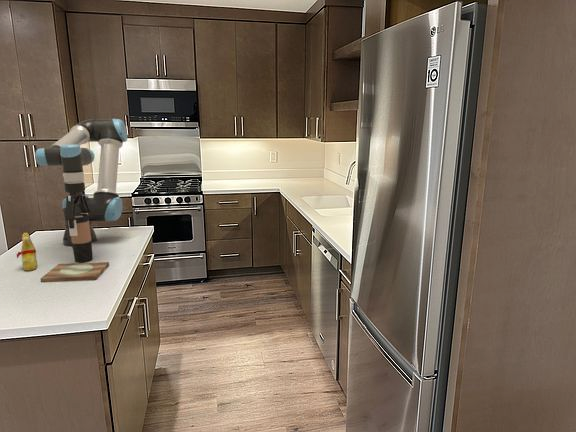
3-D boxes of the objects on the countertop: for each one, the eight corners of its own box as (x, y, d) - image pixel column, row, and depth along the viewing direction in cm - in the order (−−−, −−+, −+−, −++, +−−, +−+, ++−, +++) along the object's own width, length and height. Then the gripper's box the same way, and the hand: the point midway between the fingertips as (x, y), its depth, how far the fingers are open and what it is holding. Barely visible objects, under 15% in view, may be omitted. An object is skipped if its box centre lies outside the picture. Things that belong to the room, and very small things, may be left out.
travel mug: (85, 263, 174) (80, 218, 169) (70, 262, 175) (64, 217, 170) (97, 257, 181) (92, 214, 176) (82, 256, 182) (76, 213, 178)
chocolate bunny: (38, 262, 176) (33, 228, 172) (37, 270, 166) (32, 234, 163) (19, 264, 172) (14, 230, 169) (17, 273, 163) (11, 237, 159)
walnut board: (59, 267, 170) (58, 263, 169) (109, 265, 172) (108, 261, 171) (40, 282, 154) (40, 277, 154) (96, 279, 156) (95, 275, 156)
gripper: (76, 178, 182) (82, 224, 186) (51, 186, 157) (58, 239, 162) (94, 178, 182) (99, 224, 187) (71, 186, 158) (78, 239, 163)
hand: (80, 231), depth 175 cm, fingers open, 13 cm apart
